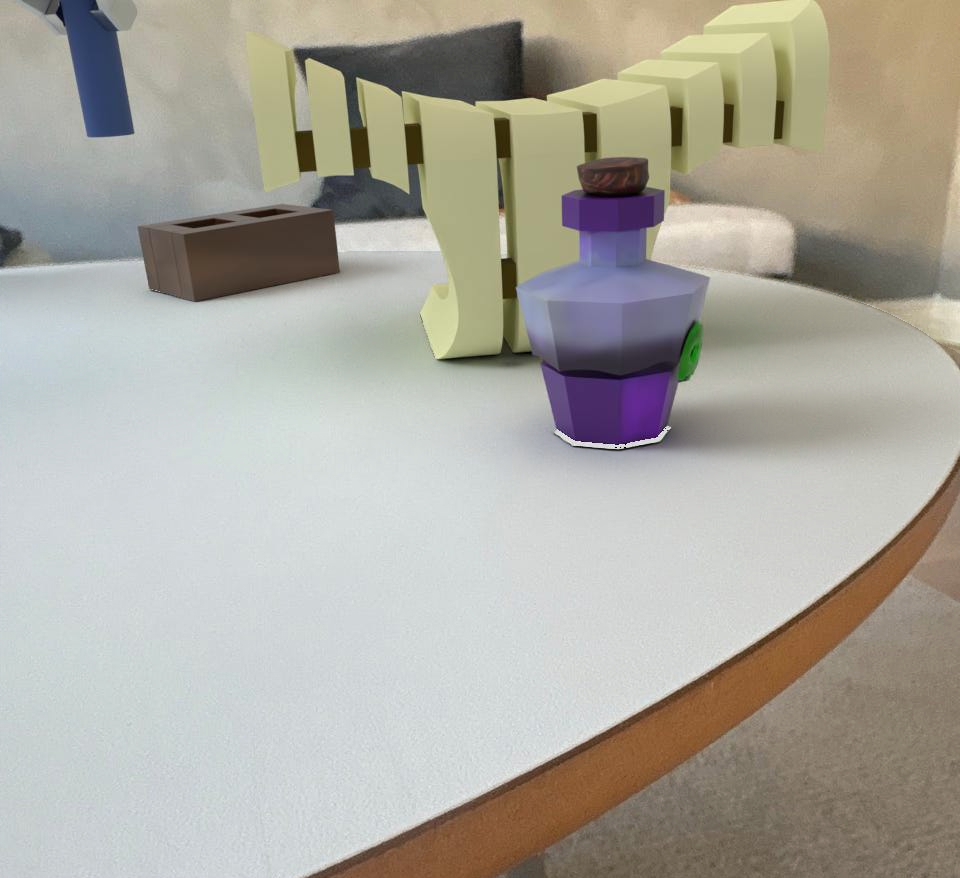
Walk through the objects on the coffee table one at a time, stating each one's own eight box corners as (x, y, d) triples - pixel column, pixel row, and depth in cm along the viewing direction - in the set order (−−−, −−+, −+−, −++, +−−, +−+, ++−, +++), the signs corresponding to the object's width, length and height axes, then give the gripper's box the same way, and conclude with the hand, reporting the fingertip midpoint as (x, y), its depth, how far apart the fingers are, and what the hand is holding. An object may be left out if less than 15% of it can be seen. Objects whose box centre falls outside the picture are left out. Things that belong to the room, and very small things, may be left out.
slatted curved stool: (290, 387, 61) (242, 29, 53) (297, 323, 75) (260, 33, 67) (806, 342, 64) (836, -5, 55) (719, 288, 78) (732, 5, 70)
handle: (79, 136, 67) (37, -74, 62) (122, 132, 68) (85, -73, 63) (98, 138, 65) (57, -79, 60) (142, 133, 66) (105, -78, 61)
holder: (149, 289, 89) (136, 226, 87) (290, 262, 97) (282, 203, 94) (194, 301, 83) (183, 234, 81) (340, 272, 91) (333, 209, 89)
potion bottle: (720, 457, 47) (735, 163, 42) (523, 466, 48) (512, 175, 42) (689, 398, 55) (698, 144, 50) (519, 406, 55) (510, 154, 50)
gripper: (90, -290, 48) (256, -31, 60) (-197, -222, 57) (-1, -8, 69) (36, -181, 47) (218, 61, 59) (-250, -128, 56) (-41, 73, 68)
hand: (98, 24), depth 64 cm, fingers closed on handle, 3 cm apart
